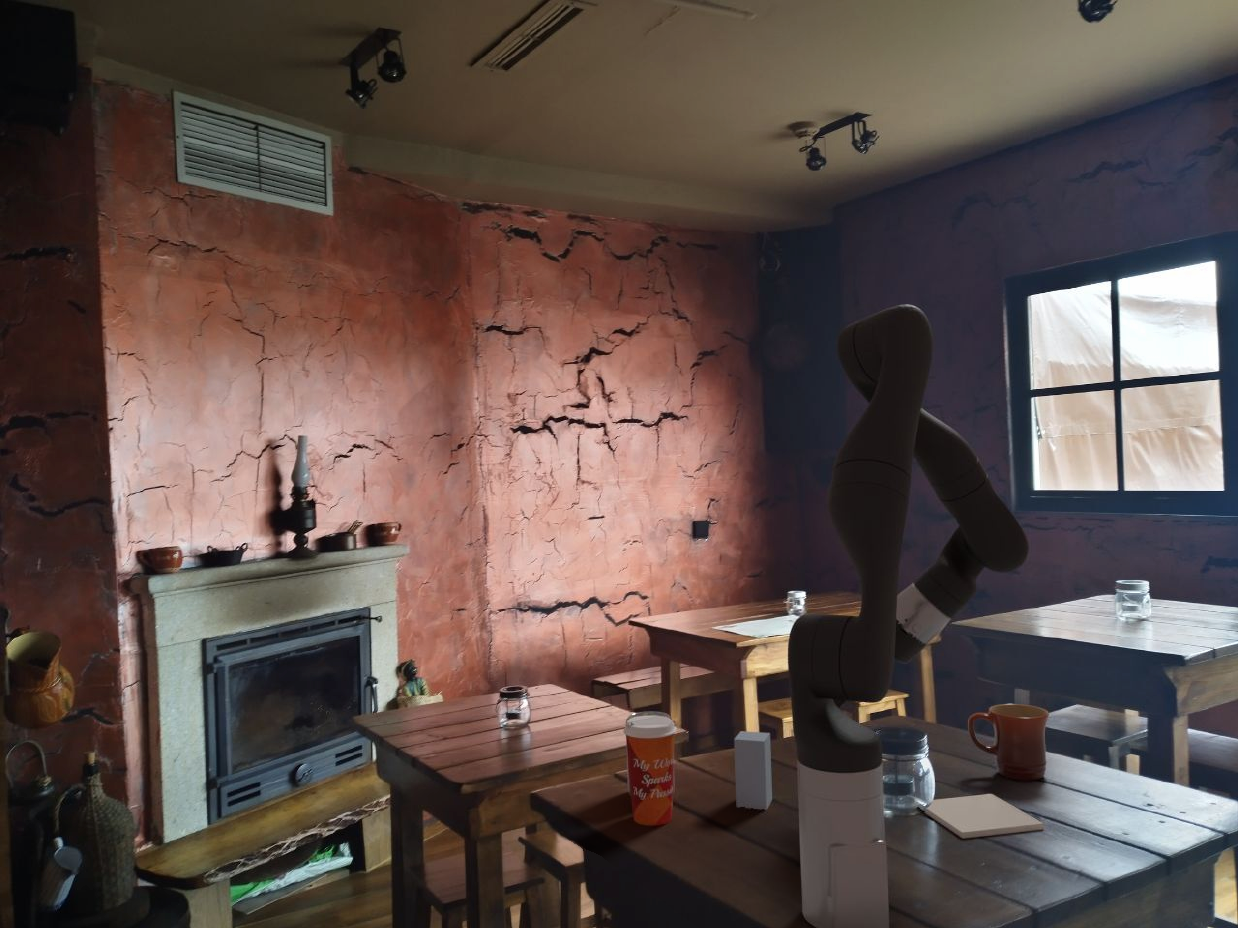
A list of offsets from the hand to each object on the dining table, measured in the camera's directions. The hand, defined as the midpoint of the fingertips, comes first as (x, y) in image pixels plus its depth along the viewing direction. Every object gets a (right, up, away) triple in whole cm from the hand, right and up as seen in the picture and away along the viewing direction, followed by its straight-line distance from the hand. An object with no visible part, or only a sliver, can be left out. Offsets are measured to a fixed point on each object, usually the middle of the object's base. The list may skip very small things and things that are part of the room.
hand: (830, 699), depth 134 cm
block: (-10, -16, +3) cm, 20 cm away
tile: (+20, -15, -5) cm, 25 cm away
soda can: (-26, -17, +9) cm, 32 cm away
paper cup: (-26, -17, -2) cm, 31 cm away
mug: (+32, -15, +12) cm, 37 cm away
